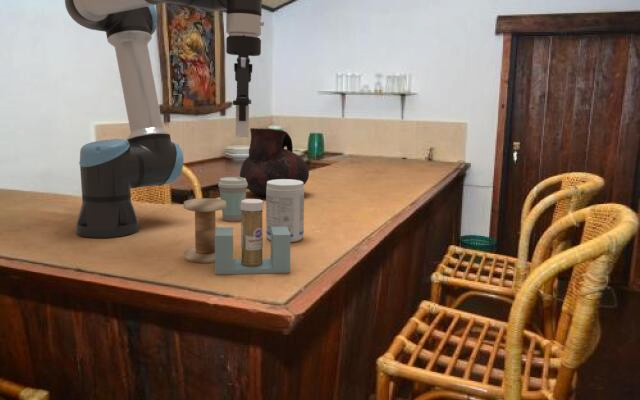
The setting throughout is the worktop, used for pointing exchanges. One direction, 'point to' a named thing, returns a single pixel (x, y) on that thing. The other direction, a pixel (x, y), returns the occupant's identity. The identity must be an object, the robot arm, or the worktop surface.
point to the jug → (271, 160)
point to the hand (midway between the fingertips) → (242, 134)
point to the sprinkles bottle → (251, 232)
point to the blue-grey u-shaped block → (271, 265)
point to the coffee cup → (232, 196)
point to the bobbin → (203, 228)
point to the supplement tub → (285, 207)
